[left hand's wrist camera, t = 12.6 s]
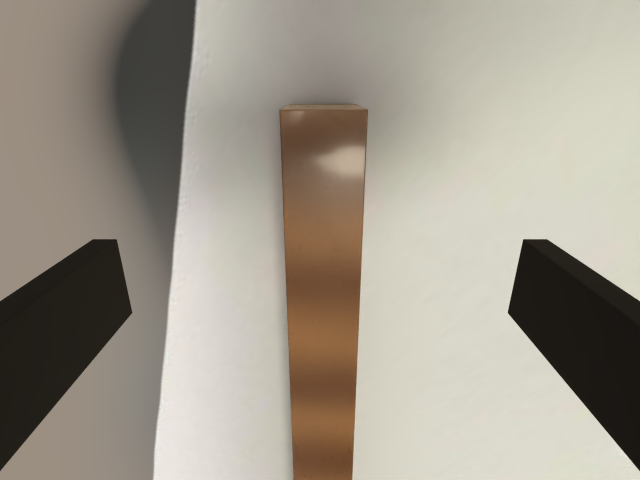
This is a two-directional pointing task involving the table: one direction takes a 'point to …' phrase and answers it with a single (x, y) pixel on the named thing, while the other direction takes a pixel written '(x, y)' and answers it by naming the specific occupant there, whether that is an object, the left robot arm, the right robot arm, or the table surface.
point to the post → (323, 279)
